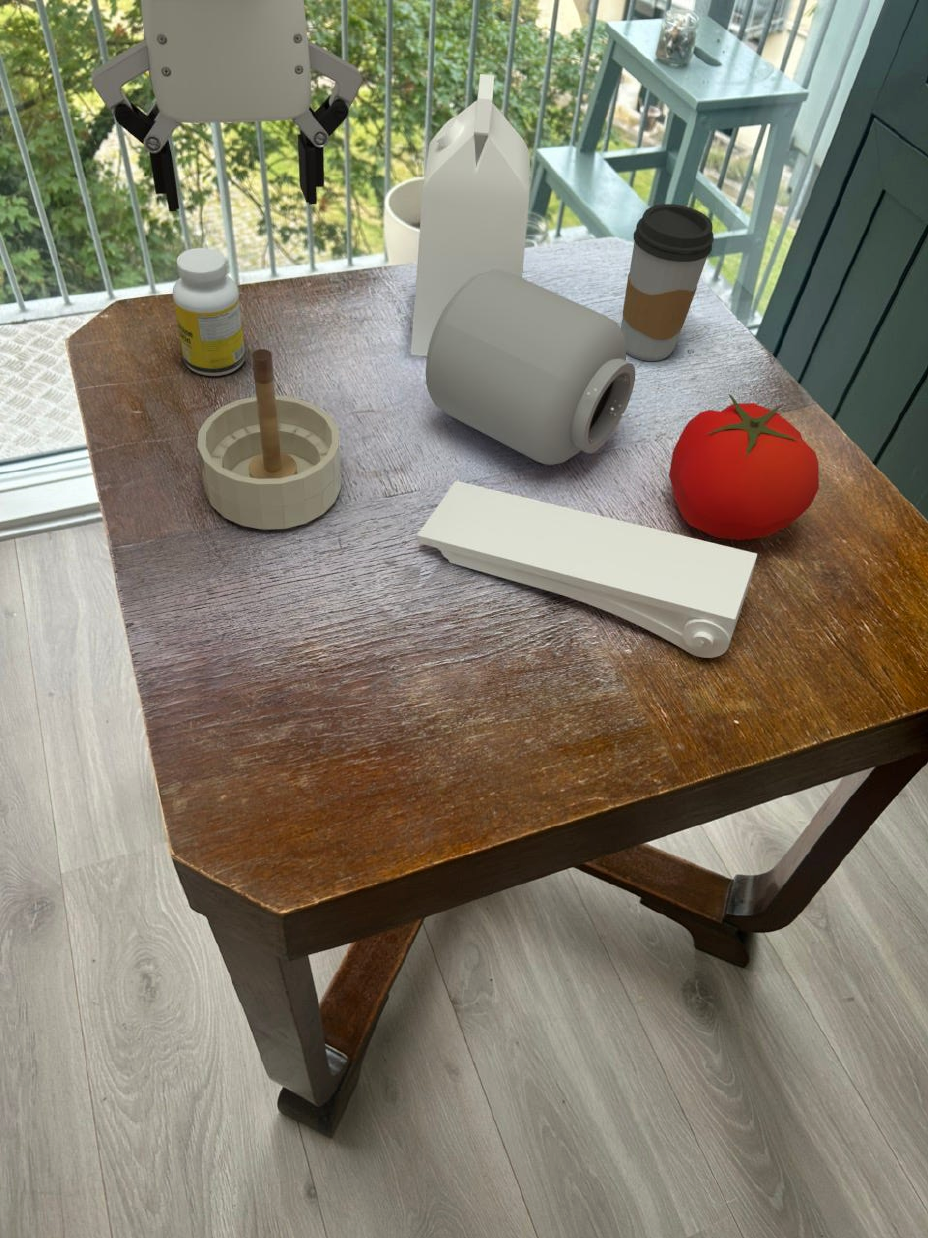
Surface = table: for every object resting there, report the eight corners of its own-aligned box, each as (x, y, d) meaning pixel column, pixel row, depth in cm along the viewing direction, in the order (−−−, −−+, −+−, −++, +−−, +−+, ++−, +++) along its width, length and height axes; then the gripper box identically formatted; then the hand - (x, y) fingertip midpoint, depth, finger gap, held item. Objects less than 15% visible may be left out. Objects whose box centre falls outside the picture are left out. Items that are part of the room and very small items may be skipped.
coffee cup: (665, 323, 114) (697, 199, 102) (693, 364, 108) (731, 238, 97) (599, 329, 112) (625, 203, 100) (625, 370, 107) (656, 243, 95)
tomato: (685, 457, 97) (717, 361, 89) (810, 511, 93) (856, 415, 85) (635, 525, 90) (664, 426, 81) (768, 586, 86) (814, 489, 78)
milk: (514, 364, 106) (547, 118, 86) (410, 354, 105) (420, 105, 86) (515, 305, 114) (546, 68, 94) (419, 296, 113) (429, 56, 94)
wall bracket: (424, 593, 90) (721, 678, 81) (409, 550, 83) (729, 637, 75) (464, 511, 94) (751, 583, 85) (453, 463, 88) (761, 536, 79)
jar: (545, 309, 105) (740, 390, 91) (484, 432, 107) (664, 527, 94) (448, 233, 89) (666, 317, 76) (379, 379, 92) (577, 484, 78)
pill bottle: (190, 341, 104) (174, 240, 95) (250, 345, 104) (239, 244, 95) (178, 376, 100) (160, 274, 91) (241, 381, 100) (229, 279, 91)
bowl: (178, 500, 88) (167, 449, 83) (259, 430, 95) (254, 379, 90) (290, 553, 84) (286, 502, 80) (365, 475, 92) (365, 425, 87)
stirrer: (240, 487, 88) (223, 358, 78) (269, 461, 91) (256, 333, 81) (279, 505, 87) (267, 376, 77) (307, 478, 90) (299, 350, 79)
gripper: (348, -104, 60) (349, 170, 73) (57, -113, 56) (112, 180, 69) (375, -69, 56) (371, 217, 68) (60, -76, 51) (118, 231, 64)
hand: (241, 198), depth 68 cm, fingers open, 9 cm apart
